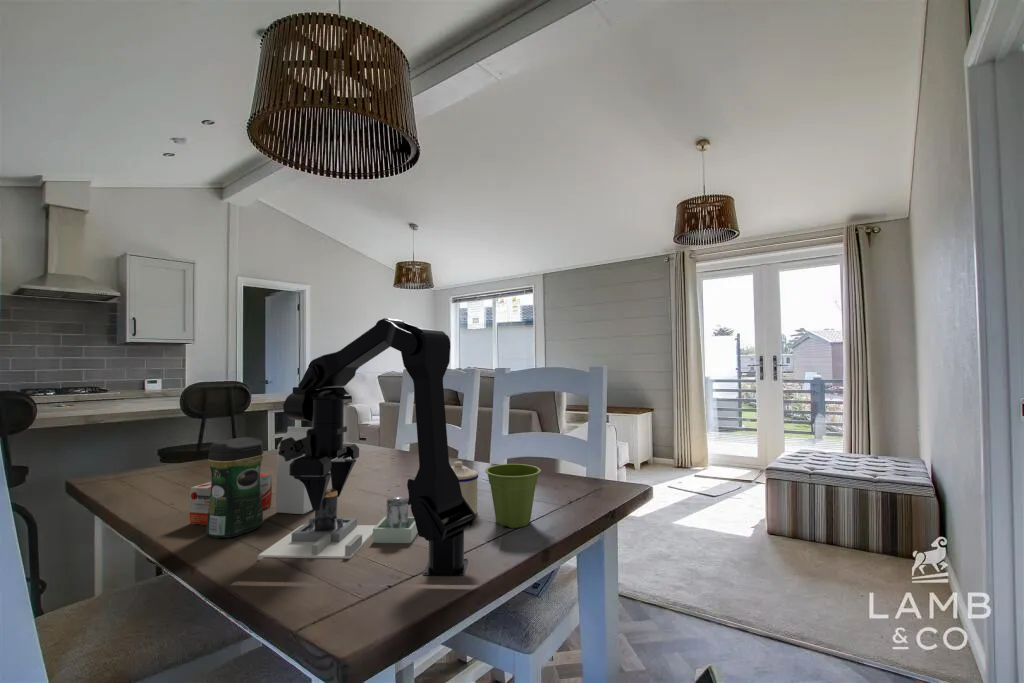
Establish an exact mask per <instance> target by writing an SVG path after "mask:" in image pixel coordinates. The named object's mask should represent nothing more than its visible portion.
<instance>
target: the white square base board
mask: <svg viewBox="0 0 1024 683" xmlns="http://www.w3.org/2000/svg"><path fill="white" fill-rule="evenodd" d="M338 518H339V517H337V519H338ZM342 518H343V522H346V524H345V525H344V526H343V527H342V528H341V529H339V530H338V531H337V532H304V531H306V530H307V529H308V528H309V521H307V522H306V523H304V524H301V525H300V526H299V527H297V528H296V529H294V530H292V531H291V532H290V533H289V534H287V535H285V536H284V537H283V538H281V539H279V540H278V541H276V542H275V543H273V544H272V545H270V546H269V547H268V548H267V549H265V550H263V551H262V552H261V553H260V554H258V556H257V560H258V561H260V560H262V559H264V558H281V559H283V558H285V559H286V558H287V559H288V558H290V559H292V558H293V559H296V558H297V559H299V558H300V559H345V560H346V559H351V558H352V557H353V556H354V555H355V554H356V553H357V552H358V551H359V550H360V549H362V547H363V546H364V544H366V542H368V541H369V539H371V538H372V537H373V528H374V527H375V526H376V525H377V524H375V525H373V524H372V525H371V524H370V525H369V524H368V525H367V524H366V525H365V524H364V525H360V524H358V518H351V517H350V518H347V517H346V518H344V517H342Z"/></svg>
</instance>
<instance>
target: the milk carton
mask: <svg viewBox="0 0 1024 683" xmlns="http://www.w3.org/2000/svg"><path fill="white" fill-rule="evenodd" d="M311 428H312V426H311V427H310V426H302V427H301V426H287V430H286V431H287V432H286V433H285V434H284V436H283V437H282V439H281V440H280V442H281V441H282V440H284V439H287V438H291V437H292V438H293V439H294V440H295V441H297V440H300V439H302V438H305V437H306V436H307V431H308V429H311ZM280 442H279V444H278V445H277V451H276V452H277V453H276V454H277V455H276V456H277V457H276V458H277V460H276V489H275V490H276V491H275V492H276V495H275V499H276V500H275V512H276V513H280V514H281V513H282V514H296V515H305V514H307V513H309V512H311V511H314V510H313V509H312V506H311V503H310V499H309V496H308V493H307V490H306V488H305V485H304V484H303V483H302V482H301V481H300V480H298V479H295V478H294V477H293V476H290V475H289V469H290V464H291V463H292V462H293V461H294V460H295V459H297V458H300V457H303V456H305V454H303V455H302V456H300V457H297V458H295V459H291V460H290V461H287V462H286V461H285V458H284V457H283V456H281V455H279V454H278V452H279V451H280V450H279V447H280Z"/></svg>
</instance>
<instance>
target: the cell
mask: <svg viewBox="0 0 1024 683" xmlns="http://www.w3.org/2000/svg"><path fill="white" fill-rule="evenodd" d="M314 517H315V530H316V531H329V530H333V529H335V528H336V527H337V518H338V497H337V490H336V489H332V488H327V489H326V492H325V495H324V498H323V501H322V504H321V507H320V510H318V511H314Z"/></svg>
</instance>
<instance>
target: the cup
mask: <svg viewBox="0 0 1024 683" xmlns="http://www.w3.org/2000/svg"><path fill="white" fill-rule="evenodd" d="M375 525H376V526H375V527H374V528H373V535H372V544H374V543H375V544H412V543H413V541H414V540H415V538H416V537H417V535H418V531H417V527H416V523H415V519H414V516H408V528H387V516H383V518H381V519H380V521H379V522H378V523H377V524H375Z"/></svg>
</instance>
